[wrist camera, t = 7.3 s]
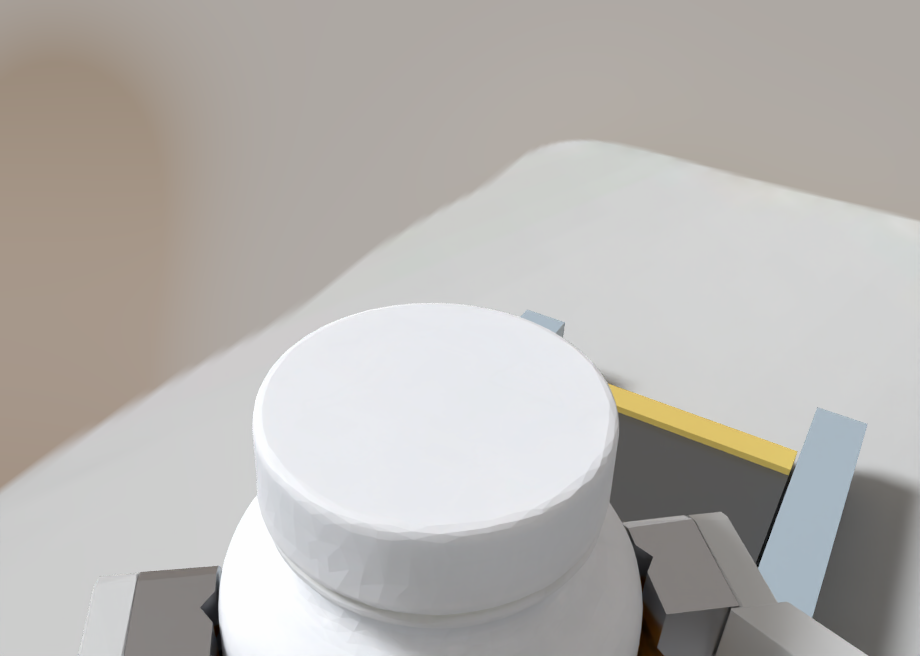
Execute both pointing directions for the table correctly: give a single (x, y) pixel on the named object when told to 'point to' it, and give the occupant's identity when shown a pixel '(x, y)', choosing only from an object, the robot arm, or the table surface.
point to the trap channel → (737, 482)
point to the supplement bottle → (432, 496)
